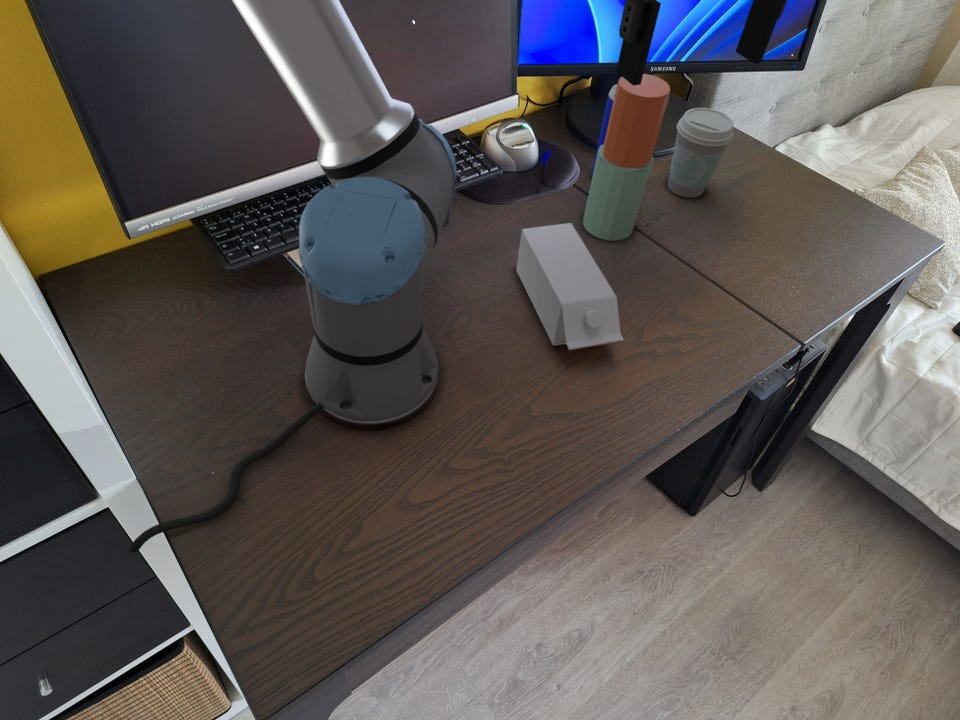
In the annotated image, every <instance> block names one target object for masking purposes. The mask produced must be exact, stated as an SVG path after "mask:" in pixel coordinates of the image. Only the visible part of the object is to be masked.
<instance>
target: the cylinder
mask: <svg viewBox="0 0 960 720" xmlns="http://www.w3.org/2000/svg"><path fill="white" fill-rule="evenodd" d="M616 84H617V88H616V92H615V97H614V101H613V105H612V110H611V114H610V119H609V123H608V128H607V132H606V137H605V141H604V145H603V156H604V157H605V158H606V159H607V160H608V161H609V162H610V163H613V164H615V165H618V166H620V167H626V168H639V167H643V166H646V165H647V164H648V163H649V162H650V161H651V158H652V156H653V154H654V151H655V148H656V144H657V141H658V137H659V133H660V129H661V126H662V123H663V120H664V116H665V113H666V110H667V106H668V103H669V99H670V92H671V86H670V85H669V83H668V82H667V81H665V80H664V79H663V78H660V77H658V76H656V75H652V74H647V73H643V77H642V81H641V84H640V85H634V86H633V85H632V84H631V83H630V82H628V81H627V80H626V79H624V78H623V77H622V76H621V77H620V78H618V83H616Z"/></svg>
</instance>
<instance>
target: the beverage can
mask: <svg viewBox="0 0 960 720" xmlns="http://www.w3.org/2000/svg"><path fill="white" fill-rule="evenodd" d="M617 84H618V83H616V84H613V85H612V87H611V89H610V90H609V92H608V96H607V101H606V106H605V109H604V114H603V118H602V123H601V129H600V133H599V137H598V142H597V145H596V146H597V147H596V151H595V156H594V161H593V165H592V169H591V176H593V172H594V168H595V163H596V159H597V154H598V150H599V148H600V146H601V145H603V144H604V141H605V137H606V132H607V128H608V123H609V119H610V114H611V110H612V105H613V101H614V97H615V92H616V88H617Z"/></svg>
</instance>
